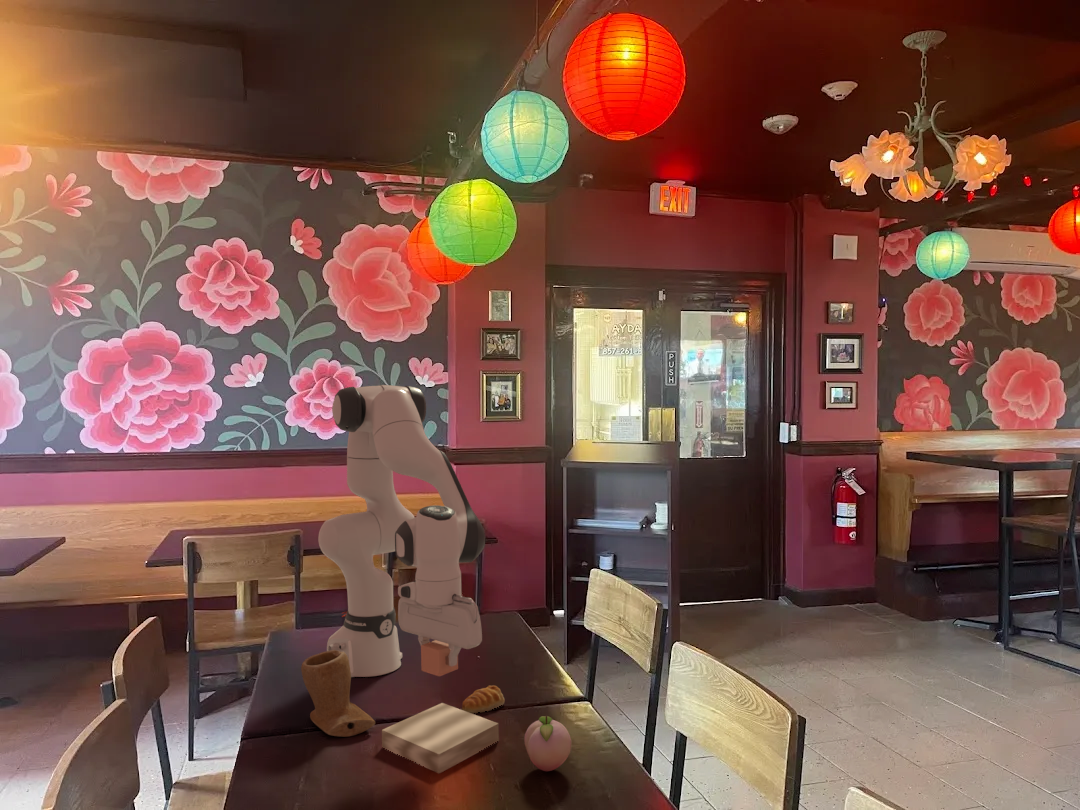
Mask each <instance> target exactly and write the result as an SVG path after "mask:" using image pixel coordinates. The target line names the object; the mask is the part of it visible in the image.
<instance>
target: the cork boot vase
mask: <svg viewBox="0 0 1080 810" xmlns="http://www.w3.org/2000/svg"><path fill="white" fill-rule="evenodd" d="M300 668H301V675H302V680H303V683H304V686H305V687H306V690H307V692H308V693H309V695H310V698H311V701H312V702H313V706H314V710H313V709H312V711H311V712H310V714H309V715H310V716H309V718H310V720H311V722H312V723H314V725H315V726H316V727H318V728H319V729H320V730H321V731H322V732H324V733H325V734H327V735H328V736H332V737H333V736H334V737H342V738H343V737H345V738H348V737H353V736H357V735H358V734H361V733H364V732H366V731H367V730H369V729H371V728H373V727H374V726H375V724H376V721H375V720H374V719H373V717H371V715H370V714H368V713H366V712H365V711H364V710H362V709H361V707H359V706H358V705H356V704H355V703H353V702H351V701H350V693H351V692H350V690H351V682H352V681H351V680H352V677H351V671H350V665H349V659H348V656H347V655H346V653H345V652H340V651H337V650H331V651H327V650H326V651H322V652H319V653H316V654H313V655H311V656H308V657H307V658H305V659H304V661H302V664H301V667H300Z"/></svg>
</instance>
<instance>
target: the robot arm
mask: <svg viewBox="0 0 1080 810" xmlns="http://www.w3.org/2000/svg"><path fill="white" fill-rule="evenodd" d="M331 411H332V417H333V420H334V423H335V425H336V426H337V427H338V429H339V430H341V431H345V432H348V436H347V448H346V449H347V450H346V453H347V454H346V485H347V487H348V489H349V491H350V492H351V493H352V494H353V495H356V496H357V497H360V498H361V499H364V500H365V503H366V511H361V512H353V513H346V514H344V513H343V514H341V515H337V516H335V517H332V518H329V519H327V520H325V521H324V522H323V523H322V525H321V527H320V529H319V532H318V539H317V541H318V546H319V548H320V551H321V552H322V554H324V556H325V557H326V558H328V560H331V561H332V562H334V564H336V565H337V566H338V567H339V570H341V572H342V575H343V576H344V579H345V584H346V591H347V610H346V611H344V612H341V614H343V615H341V618H344V621H343V625H342V626H341V627H340V628H339V629H338V630H336V631H335V632H334V633H333V634H331V636H330V637H329V638H328V640H327V644H326V651H331V650H337V651H340V652H345V653H346V655H347V656H348V659H349V665H350V671H351V678H355V677H356V678H357V677H360V678H361V677H363V678H364V677H365V678H368V677H369V678H370V677H377V676H382V675H386V674H390V673H392V672H394V671H396V670H398V669H399V668H400V667H401V665H402V662H401V659H403V652H401V651H400V643H399V636H398V628H397V626H396V625H395V624H396V616H397V619H398V625H399V627H400V630H401V631H402V632H404V633H405V632H406V633H409V634H413V635H417V640H418V642H419V645H420V646H421V645H423V644H426V643H429V642H431V641H430V639H431V640H432V641H434V640H437V641H440V642H444V643H447V644H449V649H451V651H450V654H449V655H448V656H445V660H446V662H445V663H446V665H448V666H455V665H456V664H457V655H458V656H459V653H460V651H461V649H464V650H465V649H466V650H471V649H473V648H476V647H478V646H479V645H481V643H482V642H483V634H482V633H483V632H482V631H483V630H482V621H481V616H480V612H479V606H478V605H477V604H476V602H475V601H474V600H473V599H472V598H471V597H467V596H466V597H465V596H463V595H462V571H461V569H460V568H461V567H460V564H461V563H472V562H473V561H475V560H476V559H477V558H478V557H479V555H480V554H481V553H482V552H483V551H484V548H485V546H486V533H485V529H484V527H483V525H482V522H481V521H480V519H479V518H478V516H477V514H476V513H475V511H474V510H473V509H472V506H471V505H470V502H469V500H468V498H467V496H466V493H465V490H464V489H463V487H462V484H461V482H460V481H459V478H458V476H457V474H456V471H455V470H454V468H453V465H452V463H451V462H450V460H449V458H448V456H447V455H446V453H445V452H443V451H442V450H441V449H438V448H437V447H436V446H435V445H434V444H433V443H432V442H431V441H430V439H429V438H428V436H427V434H426V433H425V429H424V426H423V423H424V421H425V419H426V414H427V401H426V397H425V394H424V393H423V392H422V390H421V389H420V388H418V387H415V386H411V385H405V386H401V385H390V384H380V385H370V386H369V385H368V386H358V387H354V386H347V387H344V388H341V389H339V390H338V392H337V393H335V395H334V398H333V402H332V407H331ZM394 473H396V474H399V475H402V476H408V477H410V478H411V477H412V478H416V479H419V480H422V481H423V482H426V483H428V484H430V485H432V487H434V488H435V489H436V491H437V493H438V495H439V496H440V499H441V501H442V504H443V505H438V504H437V505H427V506H424V507H421V508H420V509H419V510H418V511H417V513H416V516H415V515H414V514H413V513H412V512H411V511H410V510H409V509H408V508H406V507H405V506H404V505H403V504H402V502H401V501H400V499H399V497H398V495H397V492H396V489H395V485H394ZM394 552H395V557H396V559H398V560H399V561H400V562H401V563H403V564H404V565H406V566H408V567H415V568H416V571H415V576H414V577H415V579H414V581H411V582H408V583H405V584H402V585H400V586H398V587H397V594H398V596H399V597H400V598H399V599H398V604H397V605H398V606H397V609H398V610H397V615H396V609H395V607H394V581H393V579H392V577H391V576H390V574H389V573H388V572H386V571H385V570H382V569H380V568H378V567H376V566H375V565H374V564H375V563H374V556H375V555H382V554H387V553H394Z"/></svg>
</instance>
